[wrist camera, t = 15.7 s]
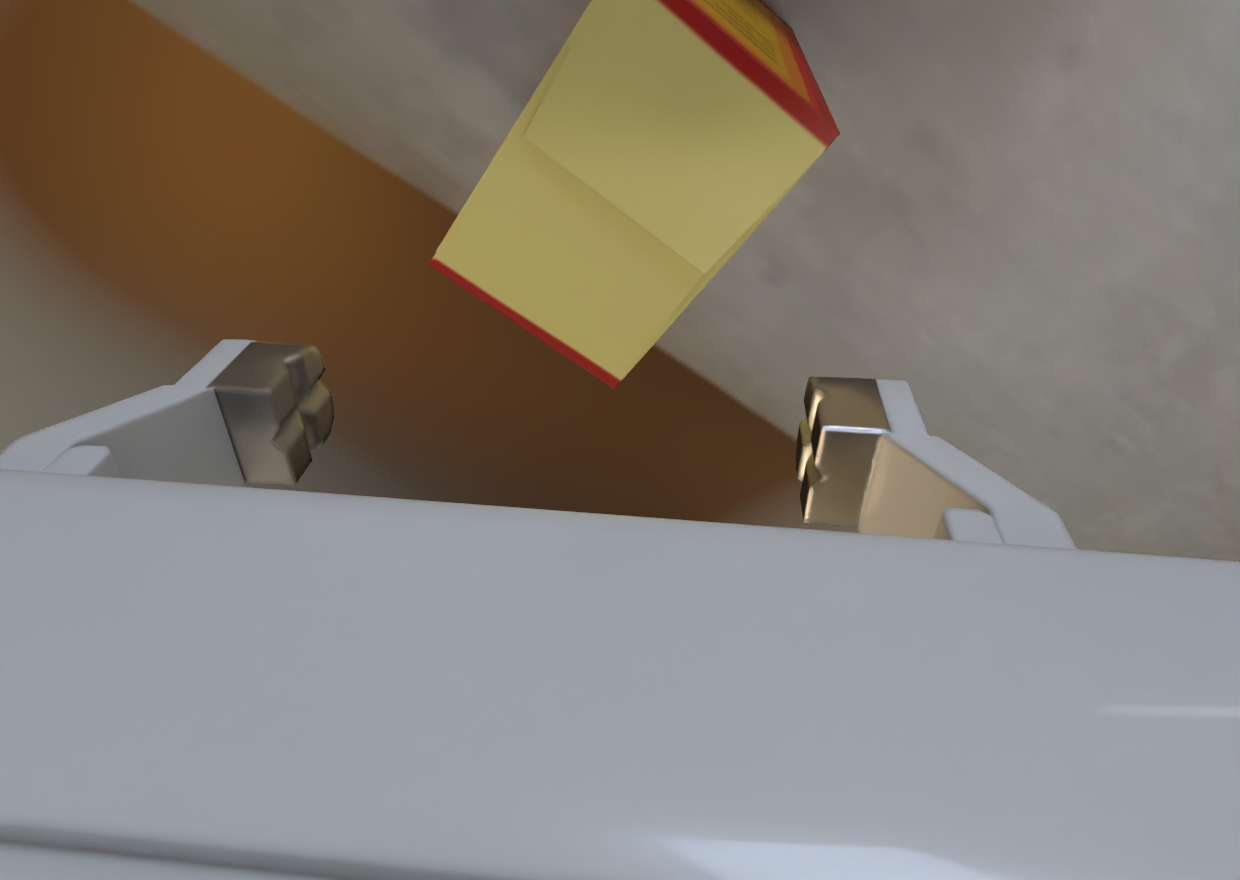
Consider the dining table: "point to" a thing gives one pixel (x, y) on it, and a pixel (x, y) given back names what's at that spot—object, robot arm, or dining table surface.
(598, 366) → the baking soda box
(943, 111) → the dining table surface
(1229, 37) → the dining table surface
